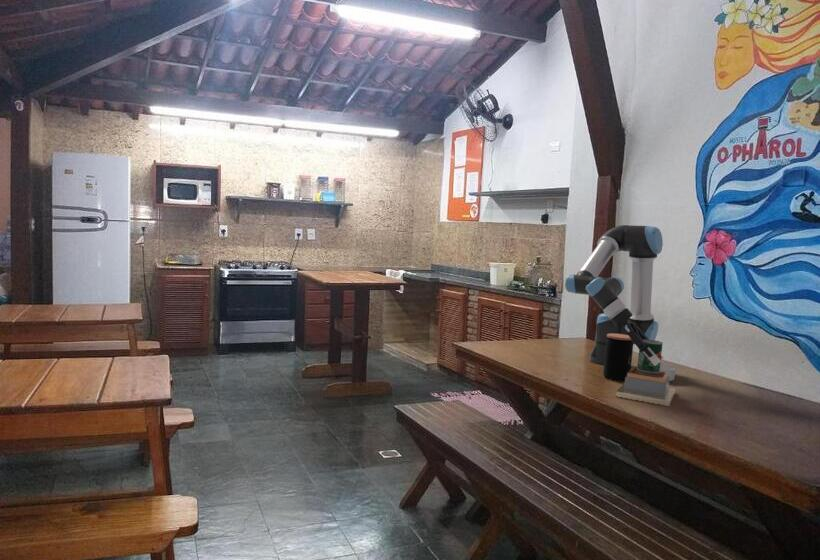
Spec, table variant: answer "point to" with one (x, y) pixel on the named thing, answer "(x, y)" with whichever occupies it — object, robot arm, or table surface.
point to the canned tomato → (644, 362)
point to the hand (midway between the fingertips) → (659, 361)
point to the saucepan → (666, 370)
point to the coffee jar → (617, 356)
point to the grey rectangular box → (647, 387)
